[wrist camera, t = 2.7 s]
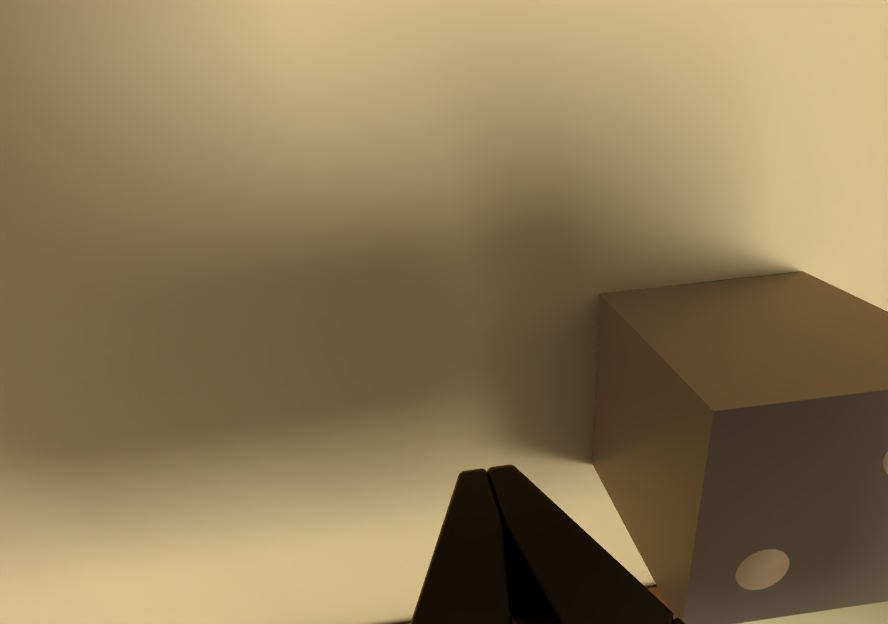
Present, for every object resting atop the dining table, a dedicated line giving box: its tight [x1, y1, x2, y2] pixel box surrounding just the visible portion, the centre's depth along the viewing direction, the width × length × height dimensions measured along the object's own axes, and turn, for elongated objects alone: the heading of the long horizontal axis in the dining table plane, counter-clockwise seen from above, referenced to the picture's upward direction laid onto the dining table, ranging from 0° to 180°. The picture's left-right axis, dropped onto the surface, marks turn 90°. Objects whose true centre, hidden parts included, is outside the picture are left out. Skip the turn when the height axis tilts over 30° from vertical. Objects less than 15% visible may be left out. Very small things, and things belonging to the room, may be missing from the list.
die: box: [593, 272, 888, 624], centre depth 10 cm, size 4×4×4 cm
